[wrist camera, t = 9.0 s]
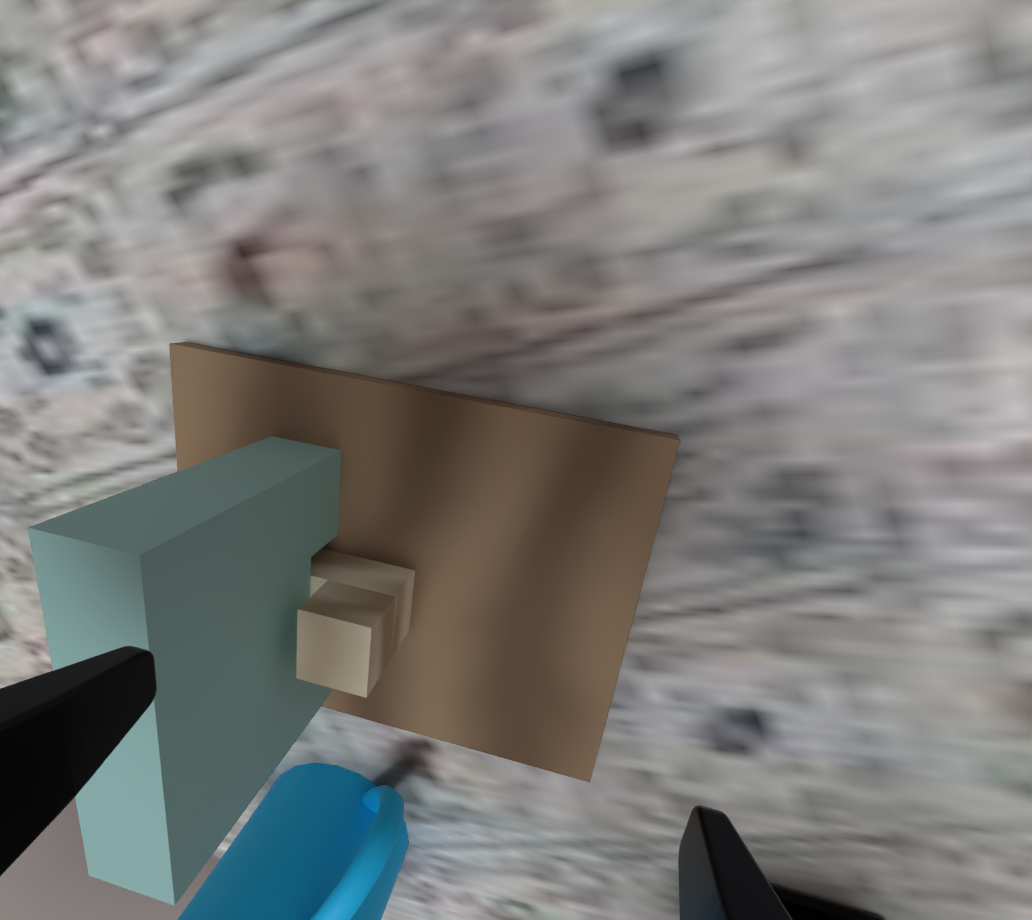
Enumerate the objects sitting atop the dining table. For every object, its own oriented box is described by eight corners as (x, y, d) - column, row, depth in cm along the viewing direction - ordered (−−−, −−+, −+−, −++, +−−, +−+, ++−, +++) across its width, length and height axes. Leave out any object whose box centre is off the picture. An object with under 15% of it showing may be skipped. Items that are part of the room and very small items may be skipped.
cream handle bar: (415, 570, 21) (371, 627, 17) (409, 630, 22) (366, 697, 18) (200, 519, 22) (115, 562, 18) (203, 578, 23) (123, 630, 19)
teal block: (341, 450, 20) (139, 555, 11) (331, 691, 24) (174, 905, 15) (272, 436, 20) (27, 527, 12) (273, 675, 24) (89, 875, 16)
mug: (353, 897, 29) (260, 1109, 21) (245, 808, 29) (110, 992, 21) (484, 803, 25) (428, 1021, 17) (361, 697, 25) (246, 874, 17)
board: (677, 435, 18) (680, 440, 17) (590, 766, 23) (589, 782, 22) (185, 342, 21) (169, 343, 20) (202, 658, 26) (190, 669, 25)
